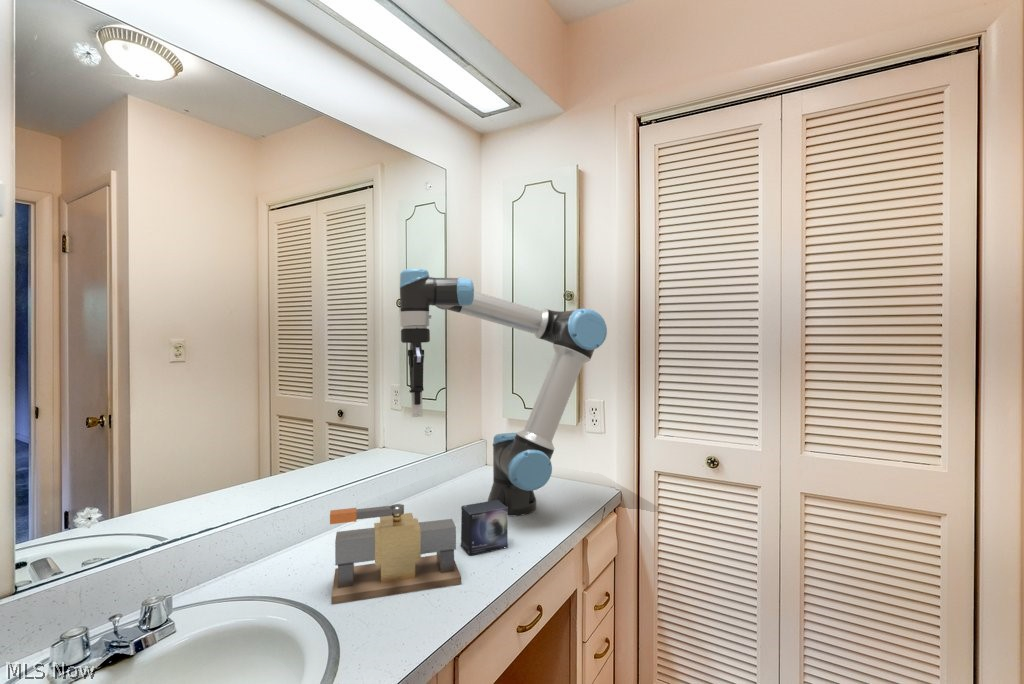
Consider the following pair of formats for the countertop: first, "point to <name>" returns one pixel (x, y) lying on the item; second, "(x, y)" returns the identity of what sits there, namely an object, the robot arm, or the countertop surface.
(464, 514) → the small box
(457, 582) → the base board
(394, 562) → the valve
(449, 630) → the countertop surface
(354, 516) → the valve lever
